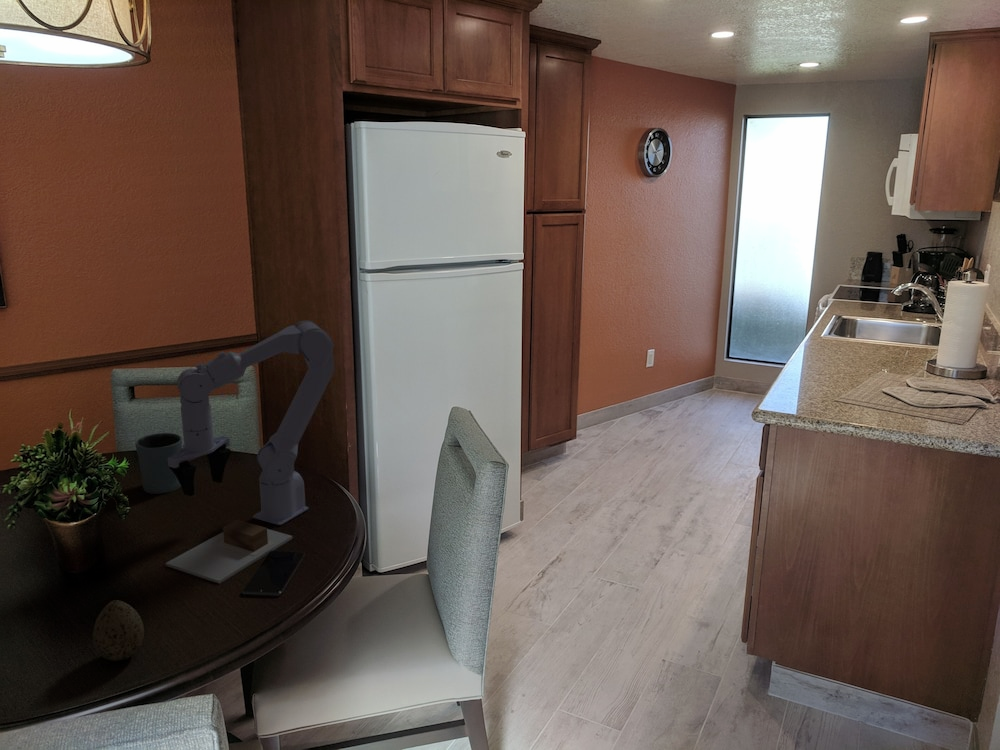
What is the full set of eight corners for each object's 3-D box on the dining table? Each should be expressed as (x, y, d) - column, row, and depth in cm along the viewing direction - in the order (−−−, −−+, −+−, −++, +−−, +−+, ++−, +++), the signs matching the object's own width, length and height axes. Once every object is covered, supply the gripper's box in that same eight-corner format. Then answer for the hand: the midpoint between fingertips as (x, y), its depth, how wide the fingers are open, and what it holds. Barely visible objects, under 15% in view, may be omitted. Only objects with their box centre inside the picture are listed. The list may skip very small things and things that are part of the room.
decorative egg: (152, 641, 123) (145, 587, 120) (139, 669, 116) (131, 612, 113) (105, 645, 122) (97, 590, 119) (89, 673, 115) (80, 616, 112)
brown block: (268, 543, 154) (266, 527, 153) (253, 552, 150) (252, 536, 149) (238, 534, 157) (237, 519, 156) (224, 542, 154) (222, 527, 153)
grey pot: (153, 477, 187) (148, 432, 184) (193, 478, 186) (189, 433, 183) (132, 494, 177) (126, 446, 174) (175, 496, 177) (169, 448, 173)
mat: (242, 524, 163) (241, 521, 163) (292, 538, 158) (292, 535, 157) (166, 565, 146) (165, 562, 146) (219, 583, 140) (219, 580, 140)
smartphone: (305, 551, 152) (280, 593, 136) (306, 556, 152) (280, 598, 136) (269, 550, 152) (240, 591, 136) (270, 554, 152) (240, 596, 137)
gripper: (210, 414, 163) (215, 472, 167) (154, 434, 150) (161, 496, 154) (235, 419, 160) (239, 478, 164) (179, 440, 148) (186, 504, 151)
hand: (203, 488), depth 159 cm, fingers open, 7 cm apart
